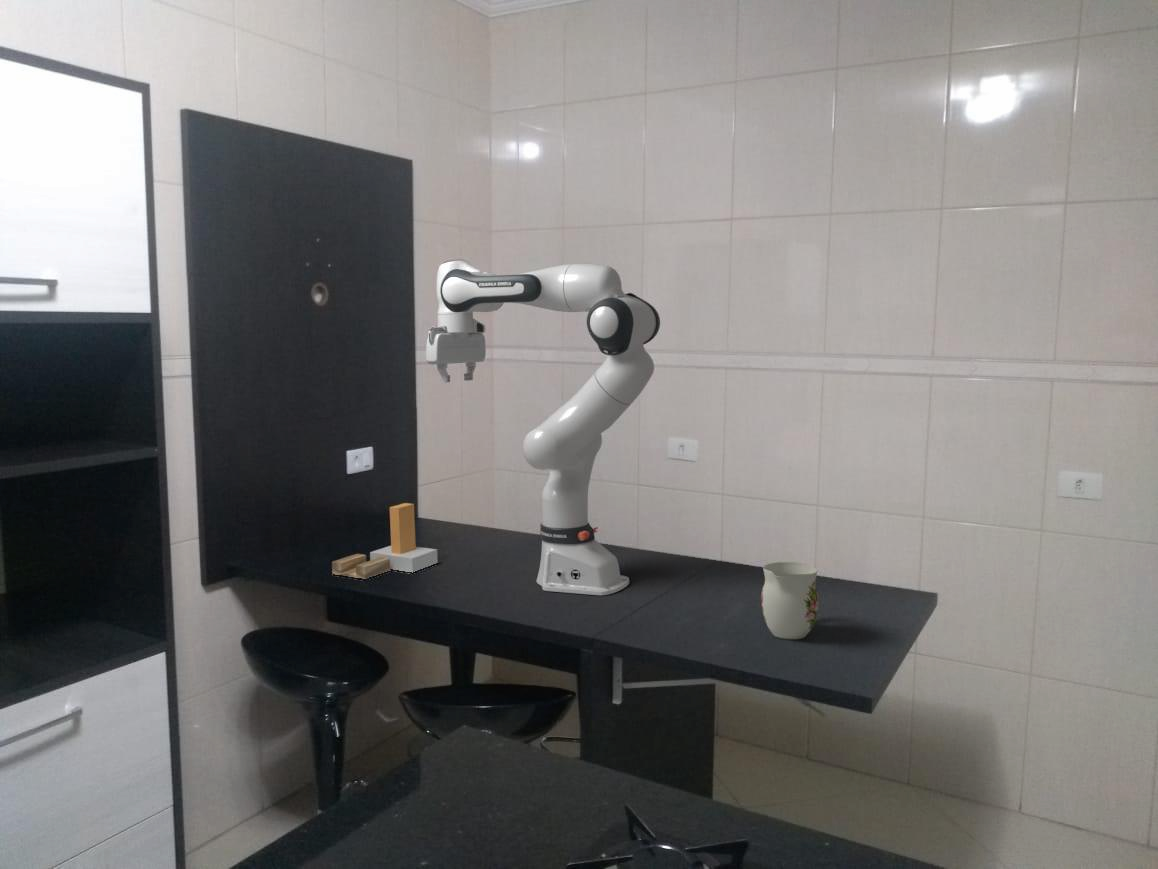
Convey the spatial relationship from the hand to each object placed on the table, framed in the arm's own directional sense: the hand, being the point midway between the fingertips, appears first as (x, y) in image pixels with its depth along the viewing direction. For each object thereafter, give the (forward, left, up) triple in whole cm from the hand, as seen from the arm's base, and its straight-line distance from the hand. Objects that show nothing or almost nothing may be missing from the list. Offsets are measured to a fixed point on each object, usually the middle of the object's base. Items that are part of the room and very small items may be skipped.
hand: (457, 381), depth 221 cm
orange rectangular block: (+14, +6, -44) cm, 47 cm away
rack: (+19, +17, -48) cm, 54 cm away
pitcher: (-89, +11, -48) cm, 102 cm away
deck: (+14, +6, -48) cm, 50 cm away
